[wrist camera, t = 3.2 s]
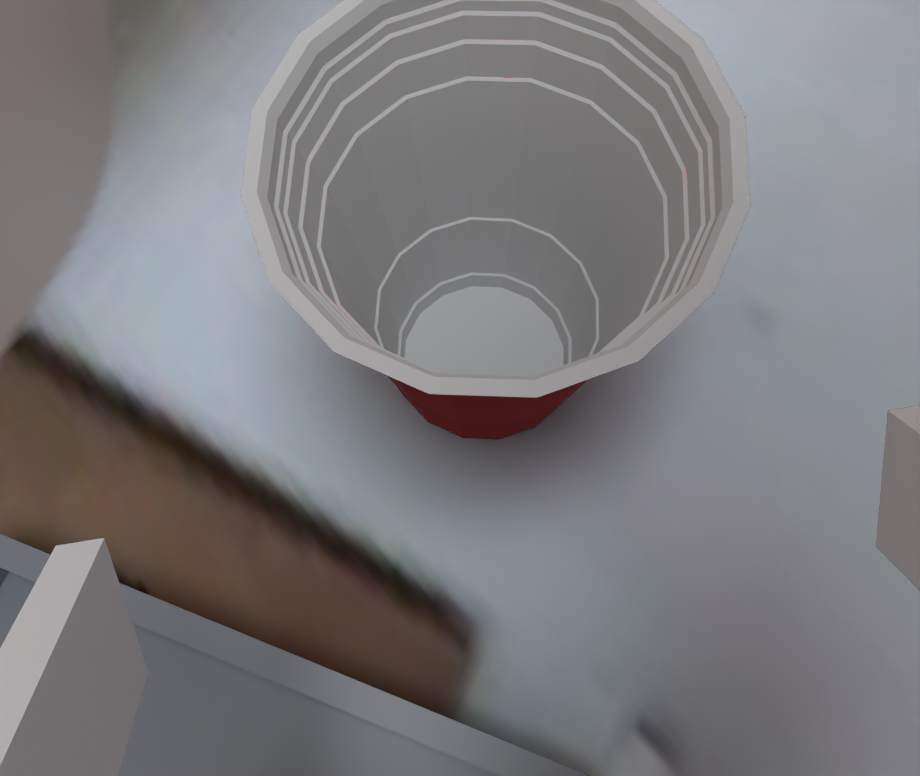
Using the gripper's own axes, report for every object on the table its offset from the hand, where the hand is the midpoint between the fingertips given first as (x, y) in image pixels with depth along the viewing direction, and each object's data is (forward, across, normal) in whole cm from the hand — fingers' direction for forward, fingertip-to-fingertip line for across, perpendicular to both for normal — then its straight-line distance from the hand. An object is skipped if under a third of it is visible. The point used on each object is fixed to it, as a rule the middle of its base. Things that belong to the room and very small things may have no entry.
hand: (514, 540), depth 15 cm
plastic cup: (+15, +1, -3) cm, 15 cm away
